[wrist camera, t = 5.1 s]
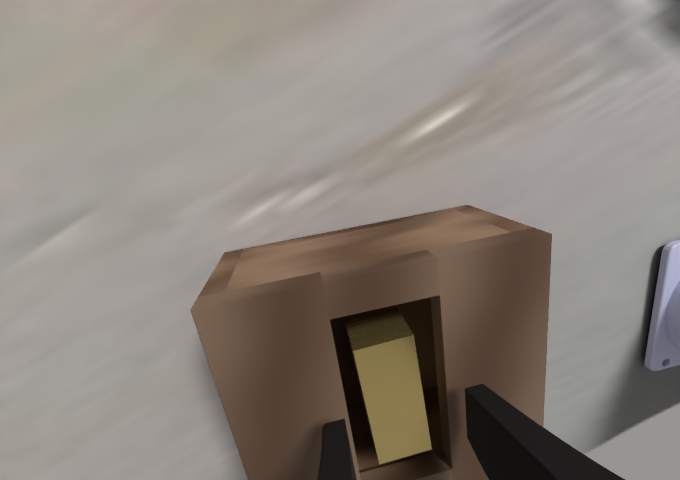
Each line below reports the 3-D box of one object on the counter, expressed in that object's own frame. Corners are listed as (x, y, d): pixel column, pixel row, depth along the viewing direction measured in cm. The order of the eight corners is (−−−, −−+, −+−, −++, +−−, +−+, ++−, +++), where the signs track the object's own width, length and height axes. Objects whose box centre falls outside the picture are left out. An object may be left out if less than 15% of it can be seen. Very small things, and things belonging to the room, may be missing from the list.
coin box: (467, 204, 15) (552, 233, 10) (474, 381, 18) (541, 467, 13) (224, 252, 14) (190, 310, 9) (275, 431, 17) (270, 544, 12)
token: (379, 278, 15) (413, 334, 10) (395, 367, 16) (431, 449, 12) (335, 289, 14) (353, 351, 10) (356, 378, 16) (379, 464, 12)
